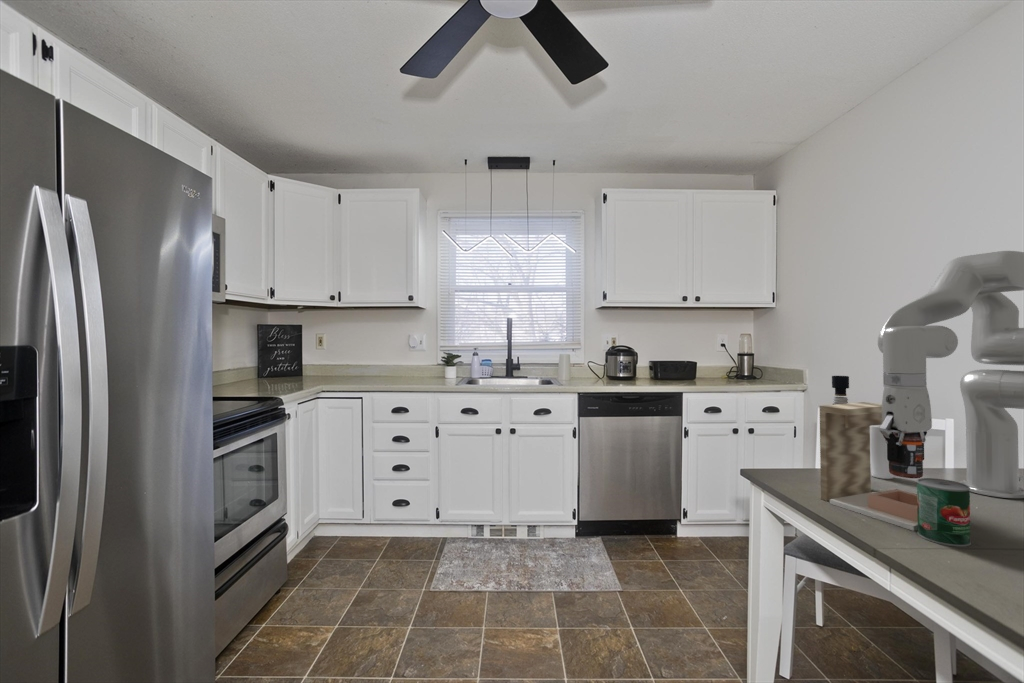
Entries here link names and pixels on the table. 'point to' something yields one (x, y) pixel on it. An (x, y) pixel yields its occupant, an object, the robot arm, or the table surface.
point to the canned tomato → (943, 511)
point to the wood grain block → (846, 448)
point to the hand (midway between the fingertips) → (905, 459)
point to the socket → (884, 506)
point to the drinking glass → (878, 454)
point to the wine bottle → (840, 388)
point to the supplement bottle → (909, 457)
